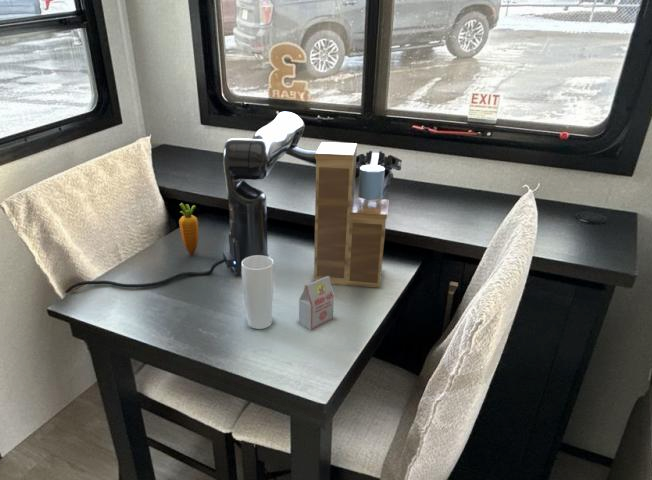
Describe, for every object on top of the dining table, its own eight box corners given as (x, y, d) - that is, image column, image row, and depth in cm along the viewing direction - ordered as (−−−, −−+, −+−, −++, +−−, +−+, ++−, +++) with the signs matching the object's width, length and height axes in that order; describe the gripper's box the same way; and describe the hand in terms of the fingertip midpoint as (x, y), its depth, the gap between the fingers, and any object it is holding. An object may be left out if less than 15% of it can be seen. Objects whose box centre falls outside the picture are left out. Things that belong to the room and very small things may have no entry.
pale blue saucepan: (381, 200, 125) (384, 172, 122) (357, 199, 126) (358, 171, 123) (385, 175, 140) (387, 150, 136) (363, 174, 141) (365, 149, 138)
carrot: (204, 253, 151) (200, 202, 143) (193, 261, 147) (187, 208, 140) (190, 250, 153) (185, 198, 146) (179, 256, 150) (172, 204, 142)
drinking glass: (272, 333, 116) (270, 270, 109) (241, 330, 118) (237, 268, 110) (278, 316, 122) (276, 256, 115) (248, 314, 123) (245, 253, 116)
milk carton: (299, 322, 120) (299, 282, 115) (321, 312, 124) (322, 272, 118) (310, 329, 117) (311, 289, 112) (333, 318, 121) (334, 278, 116)
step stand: (380, 288, 132) (392, 156, 116) (312, 282, 135) (315, 153, 119) (382, 270, 140) (393, 144, 124) (318, 265, 143) (321, 141, 127)
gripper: (352, 156, 151) (348, 138, 134) (403, 158, 148) (405, 140, 131) (349, 183, 151) (345, 169, 134) (400, 186, 148) (402, 171, 131)
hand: (375, 155), depth 133 cm, fingers closed on pale blue saucepan
